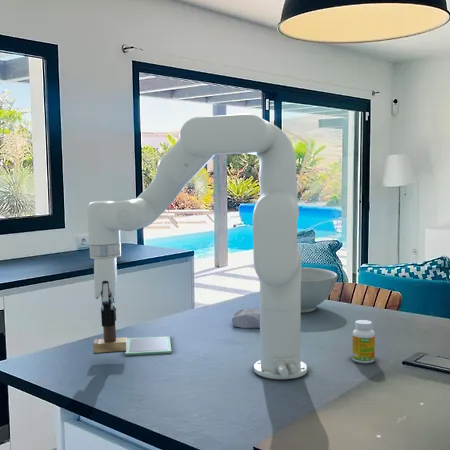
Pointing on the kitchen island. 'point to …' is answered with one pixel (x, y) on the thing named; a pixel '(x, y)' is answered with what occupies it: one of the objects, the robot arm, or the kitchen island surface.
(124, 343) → the stamp
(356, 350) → the supplement bottle
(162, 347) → the ink pad
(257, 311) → the stone block
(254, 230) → the robot arm
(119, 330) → the kitchen island surface
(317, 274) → the decorative bowl
